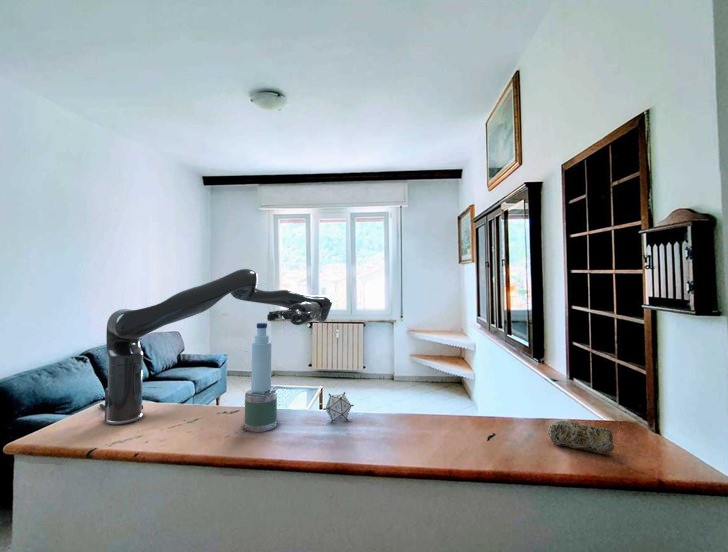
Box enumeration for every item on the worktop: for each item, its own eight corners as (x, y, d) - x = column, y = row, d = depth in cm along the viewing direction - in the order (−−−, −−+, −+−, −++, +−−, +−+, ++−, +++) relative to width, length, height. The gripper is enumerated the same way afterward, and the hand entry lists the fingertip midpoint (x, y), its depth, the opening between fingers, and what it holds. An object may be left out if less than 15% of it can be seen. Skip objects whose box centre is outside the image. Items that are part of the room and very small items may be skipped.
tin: (238, 429, 114) (238, 394, 114) (255, 418, 122) (256, 385, 123) (266, 433, 111) (266, 397, 111) (282, 422, 119) (282, 388, 120)
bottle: (247, 392, 115) (248, 324, 116) (258, 387, 121) (258, 321, 122) (264, 394, 114) (265, 325, 115) (274, 389, 119) (275, 322, 120)
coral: (547, 446, 103) (546, 422, 103) (549, 438, 108) (549, 415, 108) (614, 460, 95) (614, 434, 95) (613, 450, 100) (613, 425, 101)
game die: (342, 435, 119) (349, 415, 113) (316, 422, 121) (321, 402, 115) (353, 411, 126) (359, 391, 121) (328, 400, 128) (334, 380, 123)
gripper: (285, 302, 146) (261, 305, 131) (320, 303, 142) (300, 307, 126) (284, 322, 146) (260, 328, 131) (320, 324, 141) (300, 331, 126)
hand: (280, 318), depth 128 cm, fingers open, 8 cm apart
